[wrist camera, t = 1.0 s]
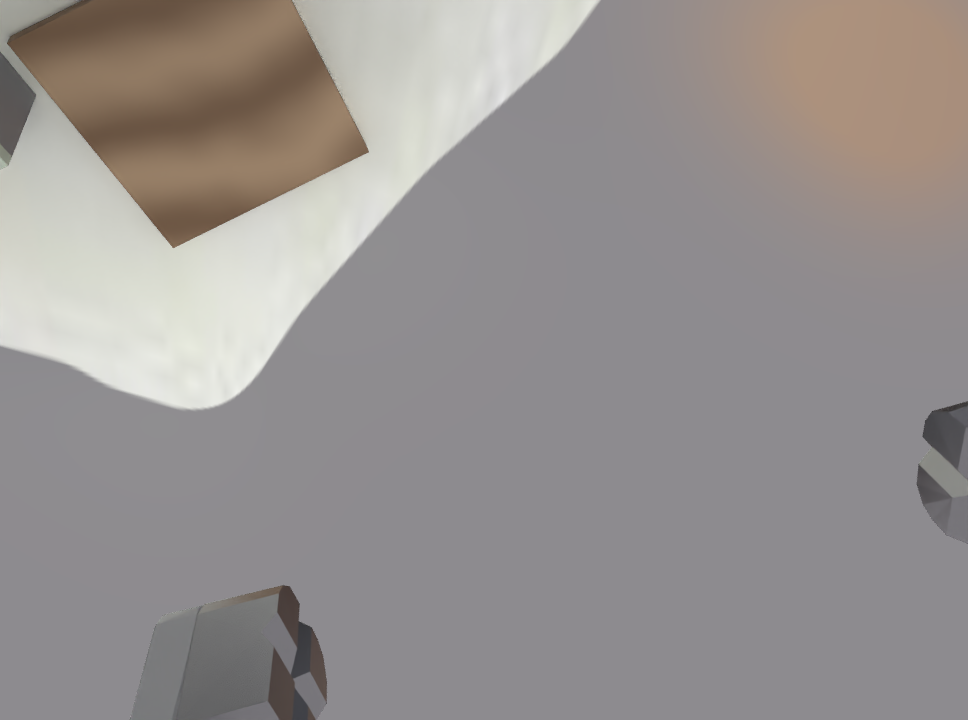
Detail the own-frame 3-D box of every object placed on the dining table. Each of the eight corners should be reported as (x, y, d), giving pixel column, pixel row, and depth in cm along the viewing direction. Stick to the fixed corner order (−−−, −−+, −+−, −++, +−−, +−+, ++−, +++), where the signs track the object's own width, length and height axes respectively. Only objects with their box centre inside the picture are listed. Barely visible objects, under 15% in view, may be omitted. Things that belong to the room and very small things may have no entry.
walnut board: (11, 36, 40) (7, 43, 39) (249, -83, 39) (250, -79, 38) (173, 238, 49) (173, 248, 48) (365, 144, 49) (368, 151, 48)
